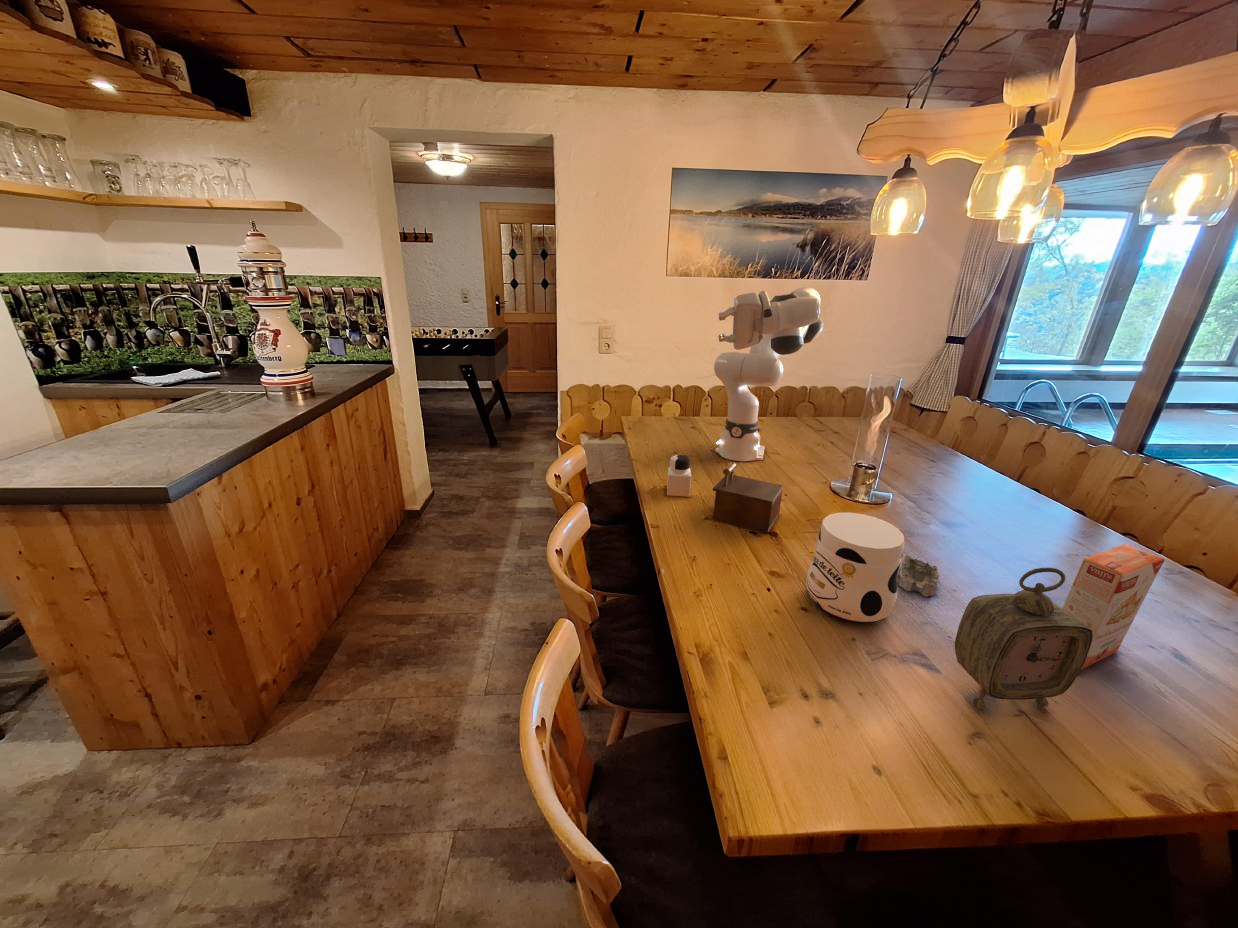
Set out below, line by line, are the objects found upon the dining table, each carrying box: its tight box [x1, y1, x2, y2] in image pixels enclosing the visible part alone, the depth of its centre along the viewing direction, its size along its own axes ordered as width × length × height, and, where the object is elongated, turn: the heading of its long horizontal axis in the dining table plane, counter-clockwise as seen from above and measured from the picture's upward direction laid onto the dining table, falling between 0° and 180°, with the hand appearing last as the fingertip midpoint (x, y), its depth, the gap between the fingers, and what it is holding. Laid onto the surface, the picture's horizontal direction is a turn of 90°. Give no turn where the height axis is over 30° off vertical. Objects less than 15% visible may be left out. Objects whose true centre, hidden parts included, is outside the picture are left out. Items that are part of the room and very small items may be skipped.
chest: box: [712, 487, 784, 534], centre depth 139 cm, size 16×13×9 cm
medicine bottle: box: [666, 454, 692, 498], centre depth 155 cm, size 7×7×12 cm
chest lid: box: [712, 462, 784, 504], centre depth 137 cm, size 16×13×6 cm
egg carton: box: [899, 555, 940, 597], centre depth 111 cm, size 11×8×4 cm
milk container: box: [805, 512, 905, 624], centre depth 101 cm, size 17×17×18 cm
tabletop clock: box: [954, 567, 1092, 710], centre depth 78 cm, size 14×9×25 cm, turn 93°
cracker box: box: [1061, 543, 1166, 671], centre depth 88 cm, size 14×6×21 cm, turn 114°
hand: (718, 328), depth 149 cm, fingers open, 8 cm apart
